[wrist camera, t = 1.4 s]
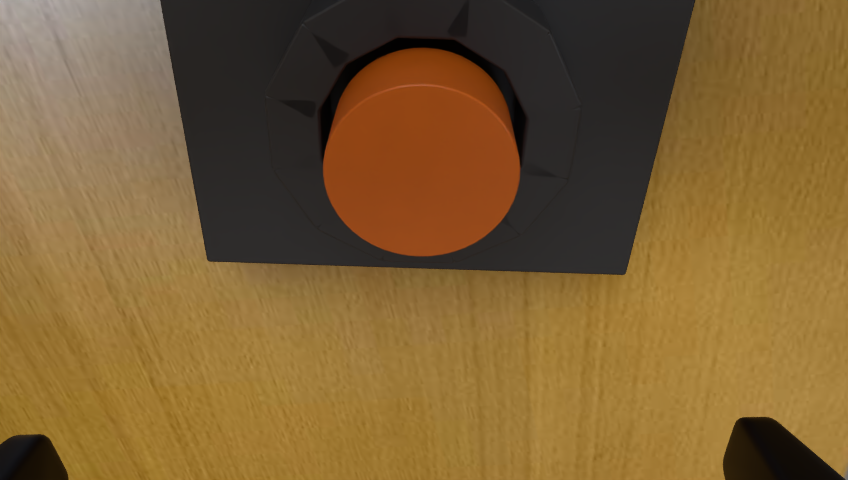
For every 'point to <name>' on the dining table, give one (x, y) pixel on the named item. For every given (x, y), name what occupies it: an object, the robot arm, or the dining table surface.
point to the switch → (421, 153)
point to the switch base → (441, 29)
